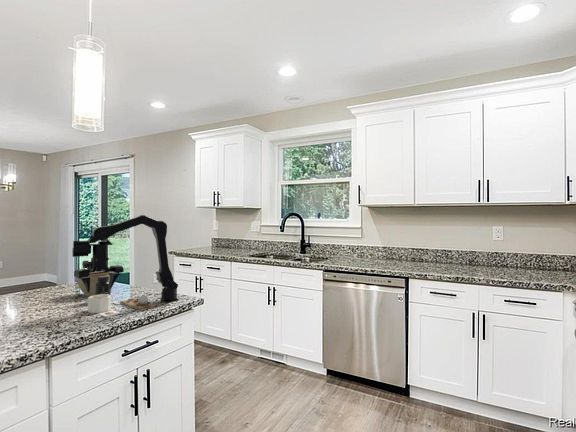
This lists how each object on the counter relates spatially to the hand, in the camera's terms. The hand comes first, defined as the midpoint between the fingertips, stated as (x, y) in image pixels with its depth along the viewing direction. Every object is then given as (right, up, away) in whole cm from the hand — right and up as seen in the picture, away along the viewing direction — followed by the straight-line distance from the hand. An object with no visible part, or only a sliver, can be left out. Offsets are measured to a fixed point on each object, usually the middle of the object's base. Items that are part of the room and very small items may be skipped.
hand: (99, 290), depth 145 cm
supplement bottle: (-7, -9, +15) cm, 19 cm away
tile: (+7, -9, -5) cm, 13 cm away
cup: (0, -9, 0) cm, 9 cm away
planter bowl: (-18, -9, +27) cm, 34 cm away
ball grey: (+17, -6, +6) cm, 19 cm away
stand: (+13, -9, +9) cm, 18 cm away
